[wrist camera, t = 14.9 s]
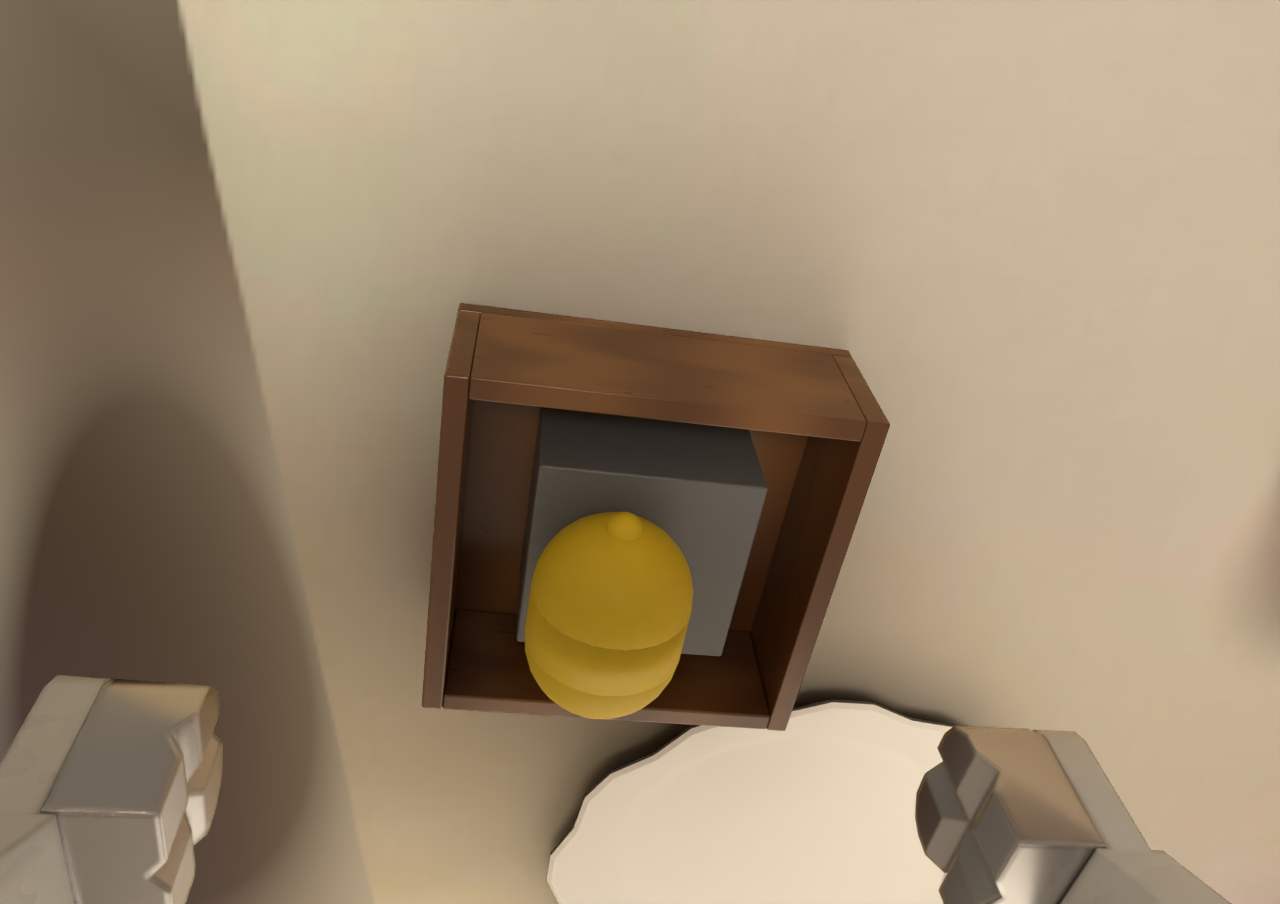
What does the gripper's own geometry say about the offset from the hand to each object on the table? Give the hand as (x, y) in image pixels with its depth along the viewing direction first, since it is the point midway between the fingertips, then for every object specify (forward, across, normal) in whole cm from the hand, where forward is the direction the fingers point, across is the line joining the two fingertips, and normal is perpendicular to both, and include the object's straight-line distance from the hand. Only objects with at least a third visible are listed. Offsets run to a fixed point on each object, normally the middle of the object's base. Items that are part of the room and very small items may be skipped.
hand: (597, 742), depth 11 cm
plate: (+25, -17, +36) cm, 47 cm away
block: (+24, -5, +14) cm, 28 cm away
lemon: (+20, -5, +14) cm, 24 cm away
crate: (+25, -5, +14) cm, 29 cm away
